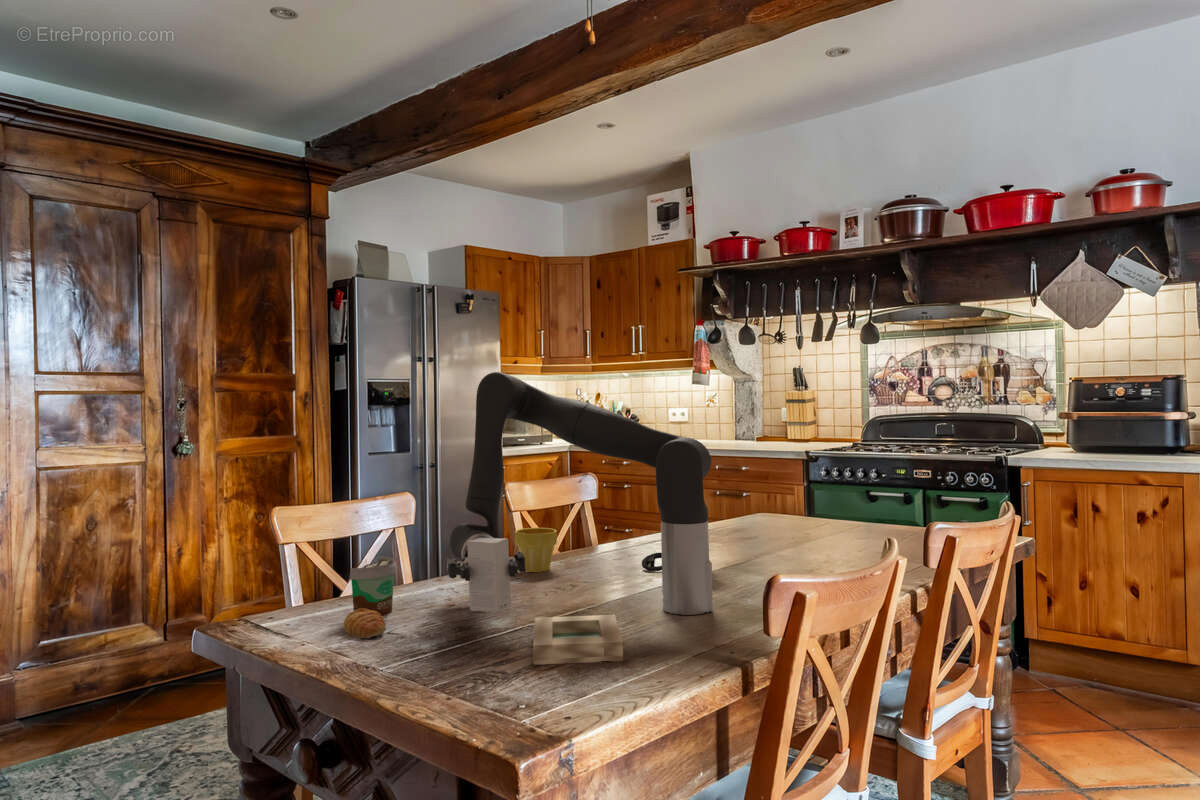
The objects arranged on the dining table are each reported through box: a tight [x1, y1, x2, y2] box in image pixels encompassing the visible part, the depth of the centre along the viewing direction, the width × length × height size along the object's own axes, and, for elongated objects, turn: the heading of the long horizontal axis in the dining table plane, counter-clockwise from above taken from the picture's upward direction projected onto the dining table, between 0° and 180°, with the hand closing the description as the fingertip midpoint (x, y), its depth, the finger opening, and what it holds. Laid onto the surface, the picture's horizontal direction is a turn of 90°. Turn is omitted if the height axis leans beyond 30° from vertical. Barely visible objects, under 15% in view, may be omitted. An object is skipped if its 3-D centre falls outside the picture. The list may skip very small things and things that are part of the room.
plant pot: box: [514, 527, 558, 573], centre depth 192 cm, size 10×10×10 cm
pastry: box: [343, 608, 387, 639], centre depth 141 cm, size 9×7×4 cm
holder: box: [532, 614, 624, 666], centre depth 129 cm, size 14×16×3 cm
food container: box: [349, 556, 398, 617], centre depth 154 cm, size 12×6×10 cm, turn 168°
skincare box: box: [467, 537, 512, 613], centre depth 134 cm, size 6×4×12 cm
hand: (490, 572), depth 132 cm, fingers closed on skincare box, 7 cm apart
